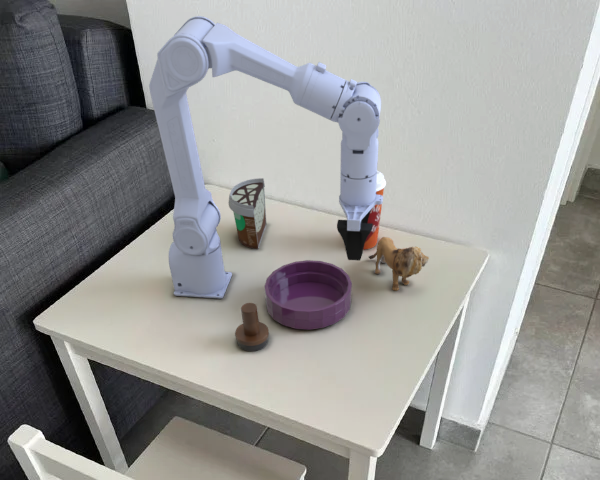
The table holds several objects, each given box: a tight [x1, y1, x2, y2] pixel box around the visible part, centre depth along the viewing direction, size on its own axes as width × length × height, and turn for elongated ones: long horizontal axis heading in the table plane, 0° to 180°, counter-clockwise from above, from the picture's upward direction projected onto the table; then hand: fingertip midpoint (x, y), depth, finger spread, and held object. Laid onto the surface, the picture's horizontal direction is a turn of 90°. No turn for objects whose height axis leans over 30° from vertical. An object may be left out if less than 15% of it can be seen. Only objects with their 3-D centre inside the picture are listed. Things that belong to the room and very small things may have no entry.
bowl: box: [264, 259, 353, 331], centre depth 111 cm, size 15×15×4 cm
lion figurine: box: [368, 236, 430, 292], centre depth 115 cm, size 15×5×9 cm, turn 33°
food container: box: [228, 177, 267, 250], centre depth 126 cm, size 12×6×10 cm, turn 172°
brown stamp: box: [234, 302, 270, 352], centre depth 104 cm, size 6×6×7 cm
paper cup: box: [363, 170, 387, 250], centre depth 122 cm, size 8×8×14 cm
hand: (356, 246), depth 107 cm, fingers open, 7 cm apart
